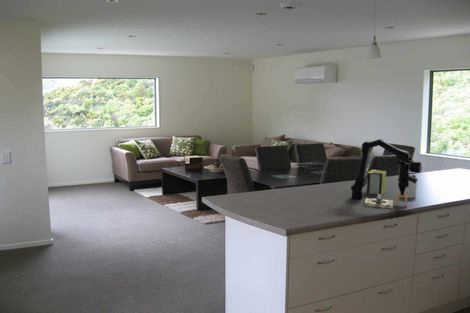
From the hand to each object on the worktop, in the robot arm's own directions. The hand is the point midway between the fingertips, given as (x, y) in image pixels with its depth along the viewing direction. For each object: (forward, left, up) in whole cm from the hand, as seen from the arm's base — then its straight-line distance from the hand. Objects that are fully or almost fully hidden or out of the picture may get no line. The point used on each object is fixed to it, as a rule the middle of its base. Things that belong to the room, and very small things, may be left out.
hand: (402, 194), depth 319 cm
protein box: (-17, +35, -7) cm, 40 cm away
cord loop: (0, 0, -5) cm, 5 cm away
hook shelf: (-14, -4, -7) cm, 16 cm away
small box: (+5, +29, -7) cm, 30 cm away
